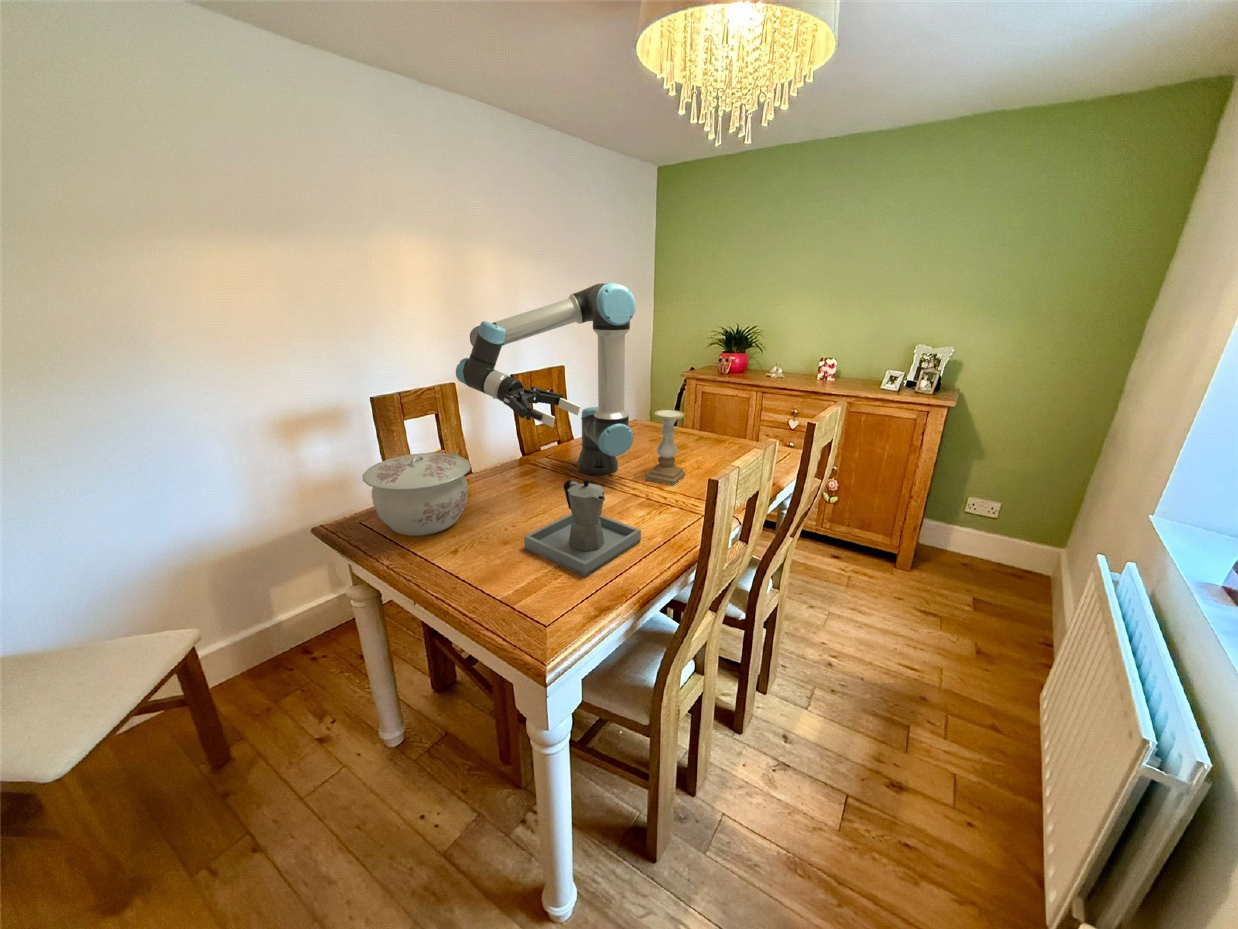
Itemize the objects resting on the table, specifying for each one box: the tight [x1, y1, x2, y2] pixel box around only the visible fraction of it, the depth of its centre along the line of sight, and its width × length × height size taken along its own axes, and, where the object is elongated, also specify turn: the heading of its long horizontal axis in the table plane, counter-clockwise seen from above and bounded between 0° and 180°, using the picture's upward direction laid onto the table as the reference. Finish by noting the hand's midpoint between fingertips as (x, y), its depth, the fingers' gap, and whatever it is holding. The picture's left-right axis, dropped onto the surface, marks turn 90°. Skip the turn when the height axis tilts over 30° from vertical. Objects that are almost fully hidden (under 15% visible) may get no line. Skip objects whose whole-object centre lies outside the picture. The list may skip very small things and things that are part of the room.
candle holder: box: [645, 409, 686, 486], centre depth 169 cm, size 11×11×24 cm
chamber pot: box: [362, 452, 472, 537], centre depth 134 cm, size 28×28×21 cm
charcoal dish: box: [523, 512, 642, 578], centre depth 127 cm, size 22×21×4 cm
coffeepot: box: [563, 478, 606, 551], centre depth 124 cm, size 15×9×18 cm, turn 44°
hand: (566, 416), depth 133 cm, fingers open, 13 cm apart
